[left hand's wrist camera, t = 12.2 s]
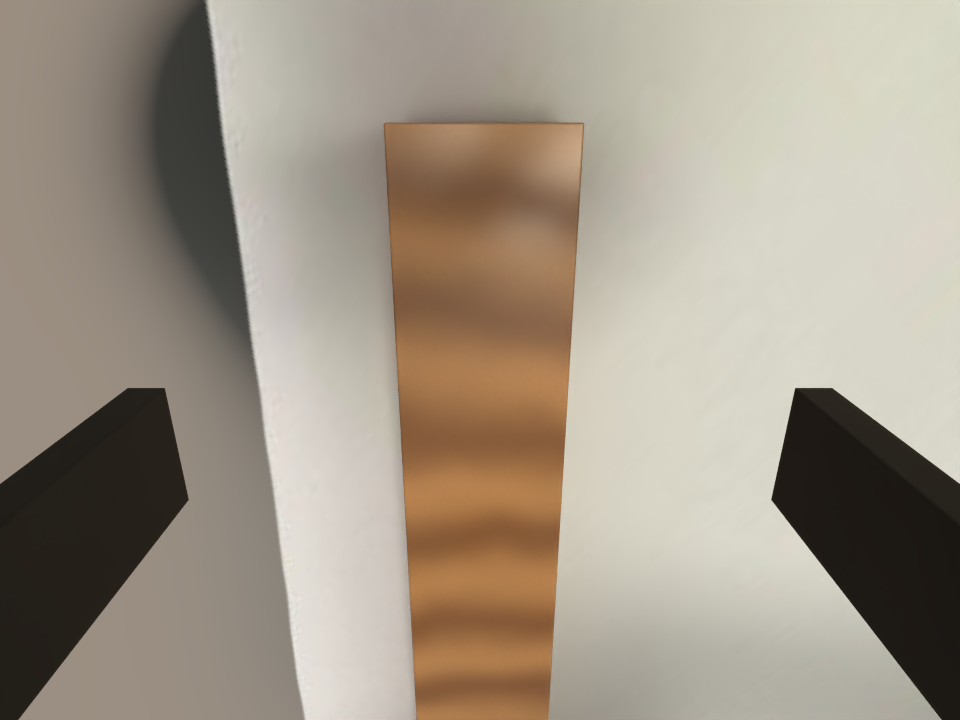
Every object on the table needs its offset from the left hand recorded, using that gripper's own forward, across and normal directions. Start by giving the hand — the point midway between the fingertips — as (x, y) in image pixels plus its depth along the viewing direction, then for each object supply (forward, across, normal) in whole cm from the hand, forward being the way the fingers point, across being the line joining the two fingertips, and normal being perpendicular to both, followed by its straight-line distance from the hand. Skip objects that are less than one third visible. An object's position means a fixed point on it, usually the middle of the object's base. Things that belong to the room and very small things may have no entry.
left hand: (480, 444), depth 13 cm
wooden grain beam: (+24, 0, -21) cm, 31 cm away
